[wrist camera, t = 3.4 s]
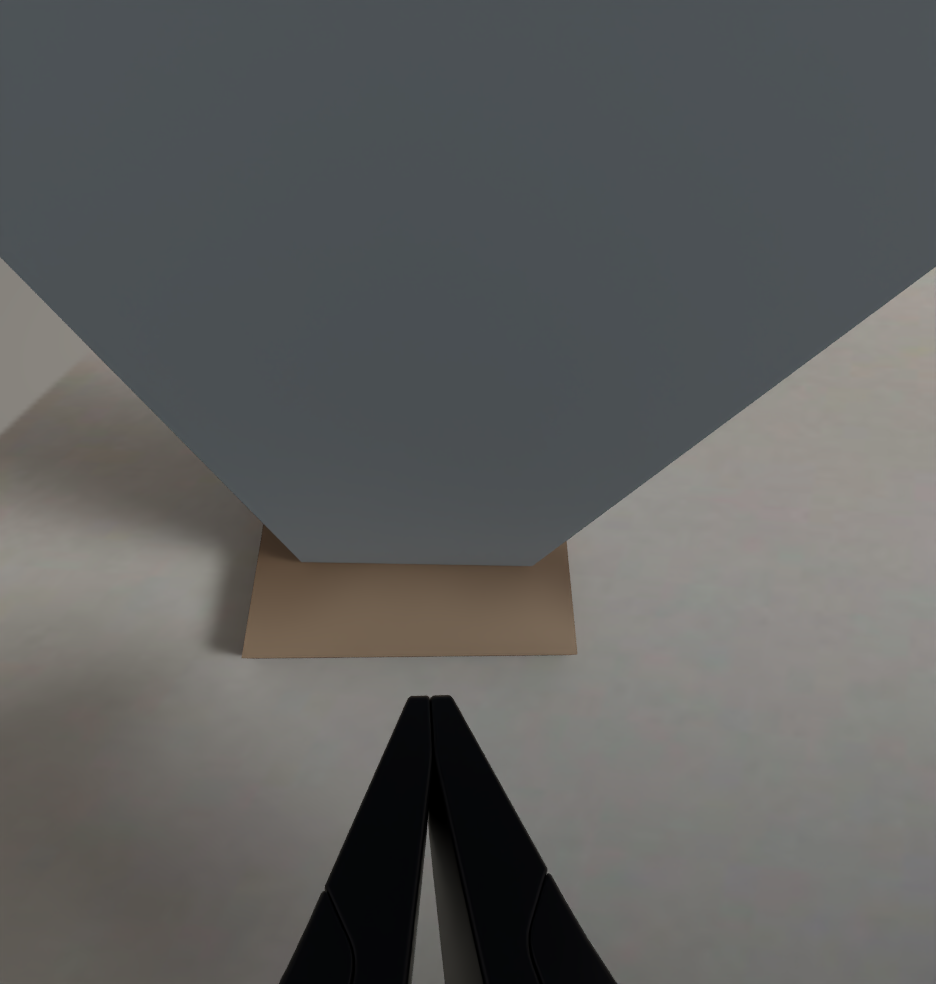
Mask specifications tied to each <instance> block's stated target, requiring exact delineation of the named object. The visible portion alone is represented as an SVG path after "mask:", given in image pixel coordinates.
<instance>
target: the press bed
mask: <svg viewBox="0 0 936 984" xmlns="http://www.w3.org/2000/svg"><path fill="white" fill-rule="evenodd" d="M576 654H577V645H576V635H575V625H574V614H573V604H572V594H571V583H570V573H569V563H568V552H567V542H566V541H565V542H564V543H563V544H561V545H560V546H559V547H557V548H556V549H555V550H553V551H552V552H551V553H549V554H548V555H547V556H545V557H544V558H542V559H541V560H540V561H538V562H537V563H536V564H534V565H533V566H497V565H440V564H383V563H326V562H301V561H300V560H299V559H298V558H297V557H296V556H295V555H294V554H293V553H292V552H291V551H290V550H289V549H288V548H287V547H286V546H285V545H284V544H283V543H282V542H281V541H280V540H279V539H278V538H277V537H276V536H275V535H274V534H273V533H272V532H271V531H270V530H269V529H268V528H267V527H266V526H265V525H263V531H262V537H261V543H260V549H259V555H258V561H257V567H256V573H255V579H254V585H253V591H252V597H251V603H250V609H249V615H248V622H247V628H246V634H245V640H244V646H243V652H242V658H343V657H434V656H525V655H576Z"/></svg>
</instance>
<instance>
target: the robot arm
mask: <svg viewBox="0 0 936 984" xmlns="http://www.w3.org/2000/svg"><path fill="white" fill-rule="evenodd" d="M427 823H428V826H429V839H430V848H431V858H432V867H433V876H434V886H435V895H436V904H437V913H438V923H439V932H440V941H441V951H442V960H443V969H444V979H445V984H617V983H616V981H615V980H614V978H613V977H612V975H611V974H610V972H609V970H608V969H607V967H606V966H605V964H604V963H603V961H602V960H601V958H600V957H599V955H598V954H597V952H596V950H595V949H594V947H593V946H592V944H591V943H590V941H589V940H588V938H587V936H586V935H585V933H584V931H583V930H582V928H581V926H580V925H579V923H578V921H577V919H576V918H575V916H574V914H573V913H572V911H571V909H570V908H569V906H568V904H567V902H566V901H565V899H564V897H563V895H562V894H561V892H560V890H559V888H558V886H557V885H556V883H555V881H554V879H553V877H552V876H551V874H549V873H548V874H547V867H546V865H545V863H544V862H543V860H542V858H541V856H540V854H539V853H538V851H537V849H536V847H535V845H534V844H533V842H532V840H531V838H530V836H529V834H528V833H527V831H526V829H525V827H524V825H523V824H522V822H521V820H520V818H519V816H518V815H517V813H516V811H515V809H514V807H513V806H512V804H511V802H510V800H509V798H508V797H507V795H506V793H505V791H504V789H503V788H502V786H501V784H500V782H499V780H498V779H497V777H496V775H495V773H494V771H493V770H492V768H491V766H490V764H489V762H488V761H487V759H486V757H485V755H484V753H483V752H482V750H481V748H480V746H479V744H478V742H477V741H476V739H475V737H474V735H473V733H472V732H471V730H470V728H469V726H468V724H467V723H466V721H465V719H464V717H463V715H462V714H461V712H460V710H459V708H458V706H457V705H456V703H455V701H454V699H453V698H452V697H451V696H449V695H435V696H432V697H431V698H429V697H428V696H411V697H409V698H408V700H407V702H406V704H405V706H404V708H403V711H402V713H401V715H400V717H399V720H398V722H397V724H396V726H395V729H394V731H393V733H392V735H391V738H390V740H389V742H388V744H387V747H386V749H385V751H384V754H383V756H382V758H381V760H380V763H379V765H378V767H377V769H376V772H375V774H374V776H373V778H372V781H371V783H370V785H369V787H368V790H367V792H366V794H365V796H364V799H363V801H362V803H361V805H360V808H359V810H358V812H357V815H356V817H355V819H354V821H353V824H352V826H351V828H350V830H349V833H348V835H347V837H346V839H345V842H344V844H343V846H342V848H341V851H340V853H339V855H338V857H337V860H336V862H335V864H334V866H333V869H332V871H331V873H330V876H329V878H328V880H327V882H326V885H325V891H323V892H322V893H321V895H320V897H319V900H318V902H317V904H316V906H315V909H314V911H313V913H312V915H311V918H310V920H309V922H308V924H307V926H306V929H305V931H304V933H303V935H302V937H301V939H300V941H299V943H298V945H297V948H296V950H295V952H294V954H293V956H292V958H291V960H290V962H289V965H288V967H287V969H286V971H285V973H284V974H283V976H282V978H281V980H280V982H279V984H412V974H413V964H414V954H415V944H416V935H417V925H418V915H419V905H420V895H421V885H422V875H423V866H424V856H425V846H426V835H427ZM546 874H547V875H546Z"/></svg>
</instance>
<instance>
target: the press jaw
mask: <svg viewBox="0 0 936 984" xmlns="http://www.w3.org/2000/svg"><path fill="white" fill-rule="evenodd" d="M0 257H1V258H2V259H3V260H4V261H5V262H6V263H7V264H8V265H9V266H10V267H11V268H12V269H13V270H14V271H15V272H16V273H17V274H18V275H19V276H20V278H22V280H23V281H25V282H26V283H27V284H28V285H29V286H30V287H31V289H32V290H33V291H34V292H35V293H37V295H38V296H39V297H40V298H41V299H42V300H43V301H44V302H45V303H46V304H47V305H48V306H49V307H50V308H51V309H52V310H53V311H54V312H55V313H56V314H57V315H58V316H59V317H60V318H61V319H62V320H63V321H64V322H65V323H66V324H67V325H68V326H69V327H70V328H71V329H72V330H73V331H74V332H75V333H76V334H77V335H78V336H79V337H80V338H81V339H82V340H83V341H84V342H85V343H86V344H87V345H88V346H89V347H90V348H91V349H92V350H93V351H94V352H95V353H96V354H97V356H98V357H99V358H100V359H101V360H102V361H103V362H104V363H105V364H106V365H107V366H108V367H109V368H110V369H111V370H112V371H113V372H114V373H115V374H116V375H117V376H118V377H119V378H120V379H121V380H122V381H123V382H124V383H125V384H126V385H127V386H128V387H129V388H130V389H131V390H132V391H133V392H134V393H135V394H136V395H137V396H138V397H139V398H140V399H141V400H142V401H143V402H144V403H145V404H146V405H147V406H148V407H149V408H150V409H151V410H152V411H153V412H154V413H155V414H156V415H157V416H158V417H159V418H160V419H161V420H162V421H163V422H164V423H165V424H166V425H167V426H168V427H169V428H170V429H171V430H172V431H173V432H174V433H175V434H176V436H177V437H178V438H179V439H180V440H181V441H182V442H183V443H184V444H185V445H186V446H187V447H188V448H189V449H190V450H191V451H192V452H193V453H194V454H195V455H196V456H197V457H198V458H199V459H200V460H201V461H202V462H203V463H204V464H205V465H206V466H207V467H208V468H209V469H210V470H211V471H212V472H213V473H214V474H215V475H216V476H217V477H218V478H219V479H220V480H221V481H222V482H223V483H224V484H225V485H226V486H227V487H228V488H229V489H230V490H231V491H232V492H233V493H234V494H235V495H236V496H237V497H238V498H239V499H240V500H241V501H242V502H243V503H244V504H245V505H246V506H247V507H248V508H249V509H250V510H251V511H252V512H253V513H254V514H255V516H256V517H257V518H258V519H259V520H260V521H261V522H262V523H263V524H264V525H265V526H266V527H267V528H268V529H269V530H270V531H271V532H272V533H273V534H274V535H275V536H276V537H277V538H278V539H279V540H280V541H281V542H282V543H283V544H284V545H285V546H286V547H287V548H288V549H289V550H290V551H291V552H292V553H293V554H294V555H295V556H296V557H297V558H298V559H299V560H300V561H301V562H326V563H383V564H440V565H497V566H533V565H534V564H536V563H537V562H538V561H540V560H541V559H542V558H544V557H545V556H547V555H548V554H549V553H551V552H552V551H553V550H555V549H556V548H557V547H559V546H560V545H561V544H563V543H564V542H565V541H567V540H568V539H569V538H571V537H572V536H573V535H575V534H576V533H577V532H579V531H580V530H582V529H583V528H584V527H586V526H587V525H588V524H590V523H591V522H592V521H594V520H595V519H596V518H598V517H599V516H600V515H602V514H603V513H604V512H606V511H607V510H608V509H610V508H611V507H613V506H614V505H615V504H617V503H618V502H619V501H621V500H622V499H623V498H625V497H626V496H627V495H629V494H630V493H631V492H633V491H634V490H635V489H637V488H638V487H639V486H641V485H642V484H643V483H645V482H646V481H648V480H649V479H650V478H652V477H653V476H654V475H656V474H657V473H658V472H660V471H661V470H662V469H664V468H665V467H666V466H668V465H669V464H670V463H672V462H673V461H674V460H676V459H677V458H679V457H680V456H681V455H683V454H684V453H685V452H687V451H688V450H689V449H691V448H692V447H693V446H695V445H696V444H697V443H699V442H700V441H701V440H703V439H704V438H705V437H707V436H708V435H710V434H711V433H712V432H714V431H715V430H716V429H718V428H719V427H720V426H722V425H723V424H724V423H726V422H727V421H728V420H730V419H731V418H732V417H734V416H735V415H736V414H738V413H739V412H740V411H742V410H743V409H745V408H746V407H747V406H749V405H750V404H751V403H753V402H754V401H755V400H757V399H758V398H759V397H761V396H762V395H763V394H765V393H766V392H767V391H769V390H770V389H771V388H773V387H774V386H776V385H777V384H778V383H780V382H781V381H782V380H784V379H785V378H786V377H788V376H789V375H790V374H792V373H793V372H794V371H796V370H797V369H798V368H800V367H801V366H802V365H804V364H805V363H806V362H808V361H809V360H811V359H812V358H813V357H815V356H816V355H817V354H819V353H820V352H821V351H823V350H824V349H825V348H827V347H828V346H829V345H831V344H832V343H833V342H835V341H836V340H837V339H839V338H840V337H842V336H843V335H844V334H846V333H847V332H848V331H850V330H851V329H852V328H854V327H855V326H856V325H858V324H859V323H860V322H862V321H863V320H864V319H866V318H867V317H868V316H870V315H871V314H872V313H874V312H875V311H877V310H878V309H879V308H881V307H882V306H883V305H885V304H886V303H887V302H889V301H890V300H891V299H893V298H894V297H895V296H897V295H898V294H899V293H901V292H902V291H903V290H905V289H906V288H908V287H909V286H910V285H912V284H913V283H914V282H916V281H917V280H918V279H920V278H921V277H922V276H924V275H925V274H926V273H928V272H929V271H930V270H932V269H933V268H934V267H936V0H0Z"/></svg>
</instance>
